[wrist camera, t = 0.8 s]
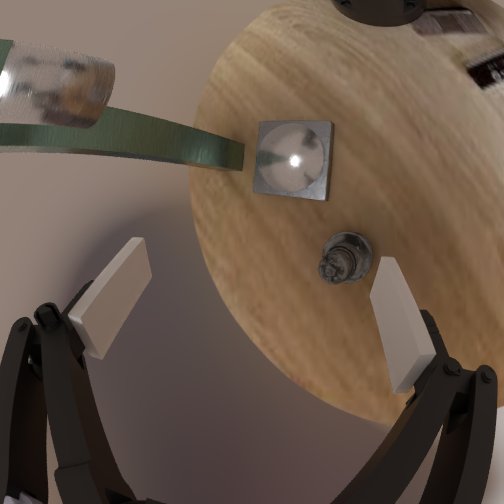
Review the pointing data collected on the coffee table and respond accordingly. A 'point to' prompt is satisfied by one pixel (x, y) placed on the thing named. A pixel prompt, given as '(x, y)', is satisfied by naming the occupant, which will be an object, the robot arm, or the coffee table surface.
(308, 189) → the arbor press
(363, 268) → the dark chess piece
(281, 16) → the coffee table surface
